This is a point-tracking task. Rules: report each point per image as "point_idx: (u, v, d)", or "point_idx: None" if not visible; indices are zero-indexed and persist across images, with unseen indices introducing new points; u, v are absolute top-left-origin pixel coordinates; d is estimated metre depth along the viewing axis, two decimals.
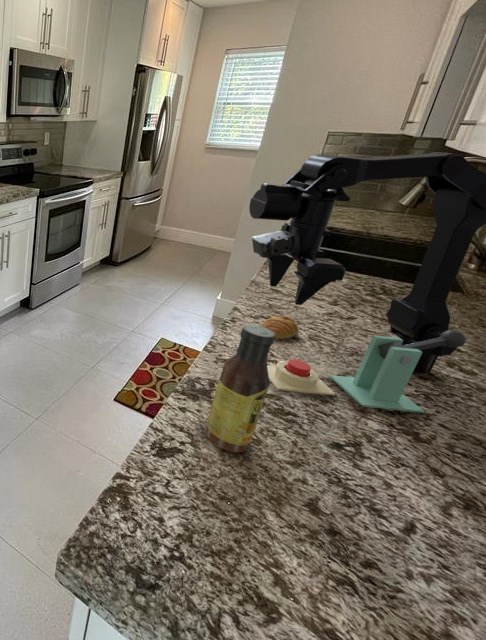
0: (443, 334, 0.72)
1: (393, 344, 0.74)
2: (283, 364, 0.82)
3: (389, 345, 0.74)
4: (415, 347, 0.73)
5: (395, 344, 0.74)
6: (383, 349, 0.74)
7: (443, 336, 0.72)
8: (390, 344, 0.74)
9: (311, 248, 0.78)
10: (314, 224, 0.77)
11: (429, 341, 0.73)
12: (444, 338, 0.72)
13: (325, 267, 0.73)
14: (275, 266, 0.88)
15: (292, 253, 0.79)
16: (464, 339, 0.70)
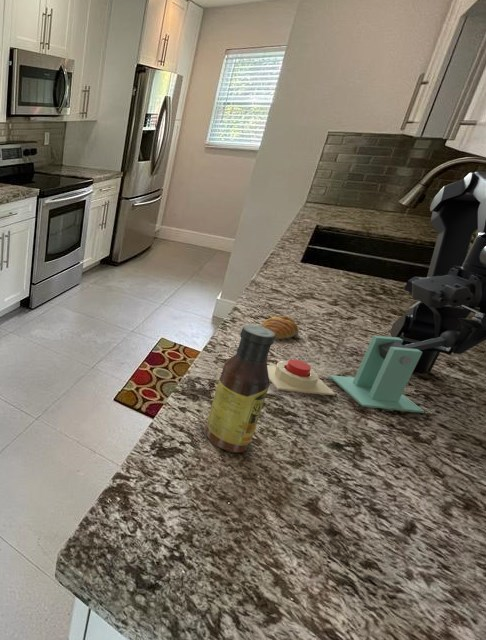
0: (443, 334, 0.72)
1: (393, 344, 0.74)
2: (283, 364, 0.82)
3: (389, 345, 0.74)
4: (415, 347, 0.73)
5: (395, 344, 0.74)
6: (383, 349, 0.74)
7: (443, 336, 0.72)
8: (390, 344, 0.74)
9: None
10: None
11: (429, 341, 0.73)
12: (444, 338, 0.72)
13: None
14: (445, 320, 0.73)
15: (471, 304, 0.67)
16: None
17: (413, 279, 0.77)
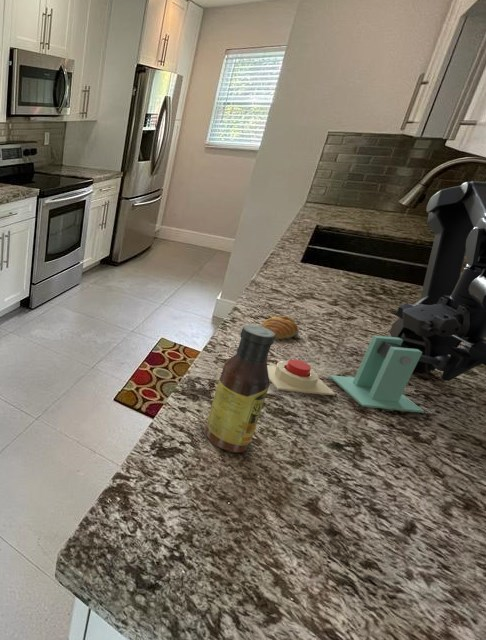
0: (439, 356, 0.74)
1: (397, 345, 0.74)
2: (283, 364, 0.82)
3: (393, 344, 0.74)
4: None
5: (399, 346, 0.74)
6: (387, 346, 0.74)
7: (439, 357, 0.73)
8: (394, 344, 0.74)
9: (483, 328, 0.68)
10: None
11: (426, 356, 0.74)
12: (439, 359, 0.73)
13: None
14: (435, 348, 0.75)
15: (459, 333, 0.69)
16: None
17: (404, 305, 0.79)
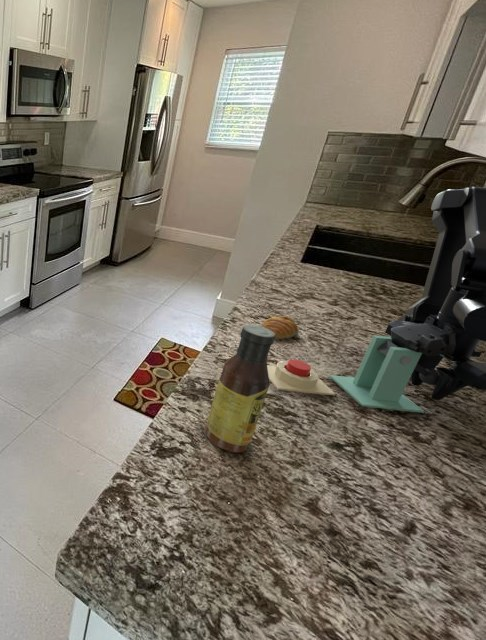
0: (429, 368, 0.75)
1: None
2: (283, 364, 0.82)
3: None
4: None
5: None
6: (391, 344, 0.74)
7: (429, 369, 0.74)
8: None
9: (469, 348, 0.69)
10: None
11: (419, 365, 0.74)
12: (429, 371, 0.74)
13: None
14: (420, 364, 0.77)
15: (445, 353, 0.70)
16: None
17: (393, 323, 0.81)
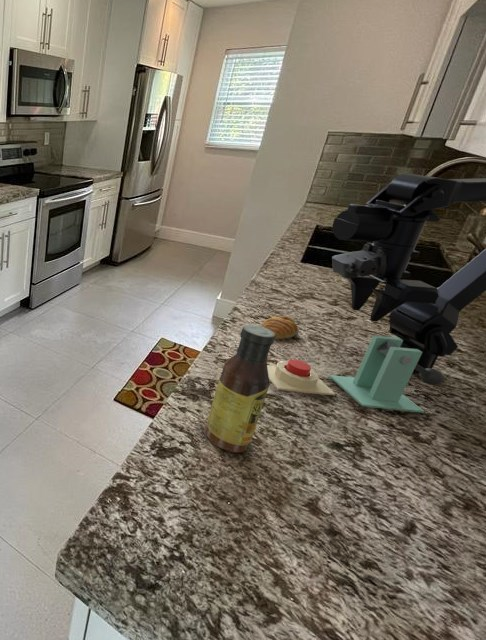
0: (429, 368, 0.75)
1: None
2: (283, 364, 0.82)
3: None
4: None
5: None
6: (391, 344, 0.74)
7: (429, 369, 0.74)
8: None
9: (398, 269, 0.77)
10: (403, 245, 0.75)
11: (419, 365, 0.74)
12: (429, 371, 0.74)
13: (419, 290, 0.71)
14: (359, 289, 0.84)
15: (378, 274, 0.77)
16: (442, 381, 0.74)
17: None
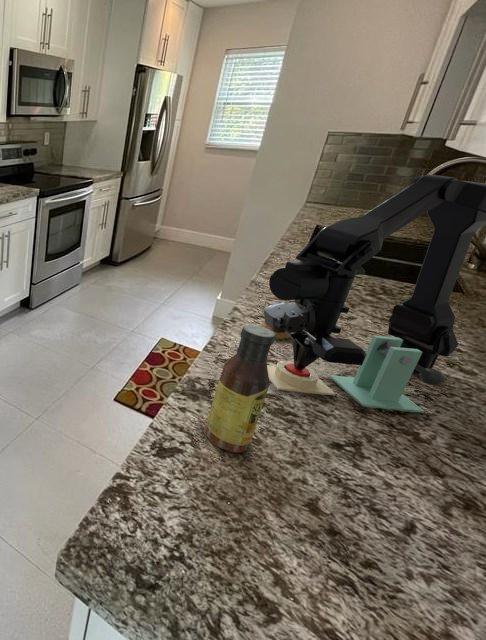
0: (429, 368, 0.75)
1: None
2: (283, 364, 0.82)
3: None
4: None
5: None
6: (391, 344, 0.74)
7: (429, 369, 0.74)
8: None
9: (328, 324, 0.73)
10: (331, 301, 0.72)
11: (419, 365, 0.74)
12: (429, 371, 0.74)
13: (344, 351, 0.68)
14: None
15: (307, 330, 0.74)
16: (442, 381, 0.74)
17: (274, 304, 0.84)
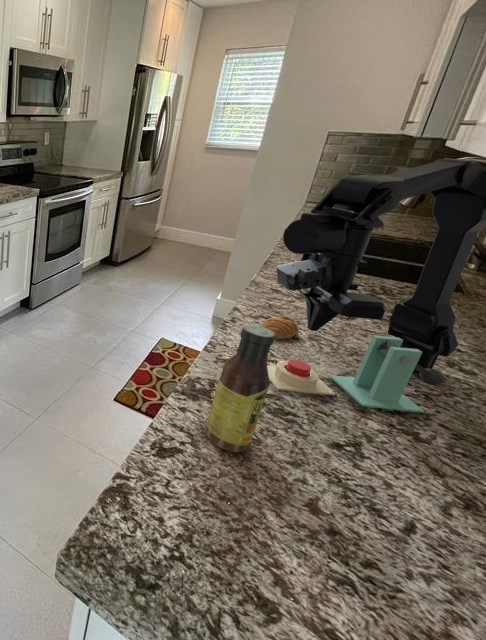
0: (429, 368, 0.75)
1: None
2: (283, 364, 0.82)
3: None
4: None
5: None
6: (391, 344, 0.74)
7: (429, 369, 0.74)
8: None
9: (345, 280, 0.70)
10: (348, 255, 0.69)
11: (419, 365, 0.74)
12: (429, 371, 0.74)
13: (363, 305, 0.65)
14: None
15: (323, 286, 0.71)
16: (442, 381, 0.74)
17: None
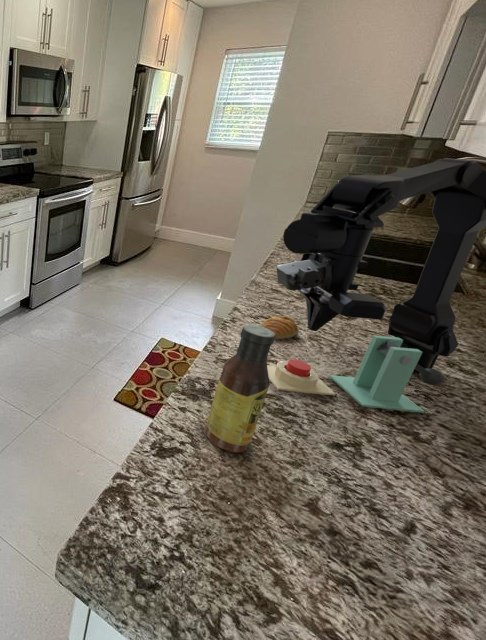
0: (429, 368, 0.75)
1: None
2: (283, 364, 0.82)
3: None
4: None
5: None
6: (391, 344, 0.74)
7: (429, 369, 0.74)
8: None
9: (345, 280, 0.70)
10: (348, 254, 0.69)
11: (419, 365, 0.74)
12: (429, 371, 0.74)
13: (363, 305, 0.65)
14: None
15: (323, 286, 0.71)
16: (442, 381, 0.74)
17: None
